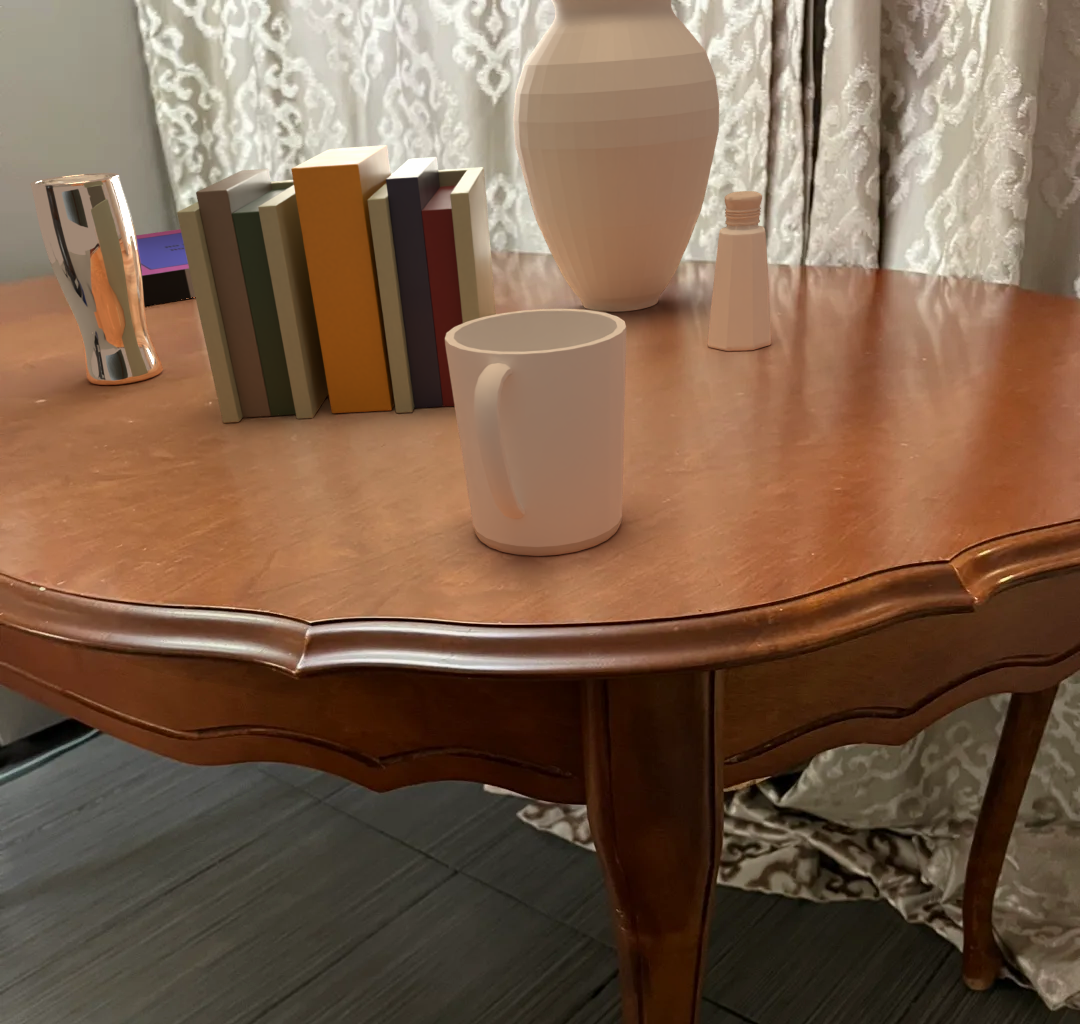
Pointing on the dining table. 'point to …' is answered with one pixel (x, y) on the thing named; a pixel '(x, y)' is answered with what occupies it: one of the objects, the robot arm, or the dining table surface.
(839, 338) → the dining table surface
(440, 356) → the bookrack
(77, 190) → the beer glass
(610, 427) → the mug
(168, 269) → the book
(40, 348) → the dining table surface
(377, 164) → the ochre book
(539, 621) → the dining table surface
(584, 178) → the vase
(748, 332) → the pepper shaker
